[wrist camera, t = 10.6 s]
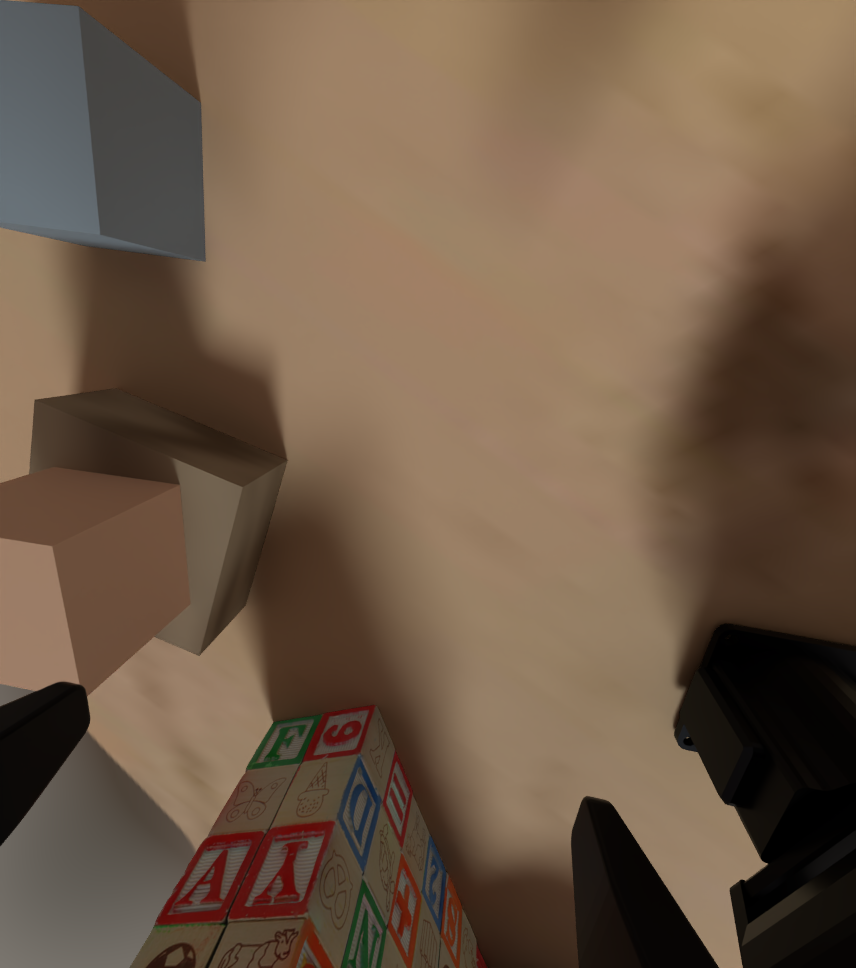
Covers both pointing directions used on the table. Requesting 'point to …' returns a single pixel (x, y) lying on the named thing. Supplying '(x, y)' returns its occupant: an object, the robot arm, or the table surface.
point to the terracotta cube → (85, 573)
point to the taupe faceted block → (203, 485)
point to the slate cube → (95, 138)
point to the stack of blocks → (317, 864)
